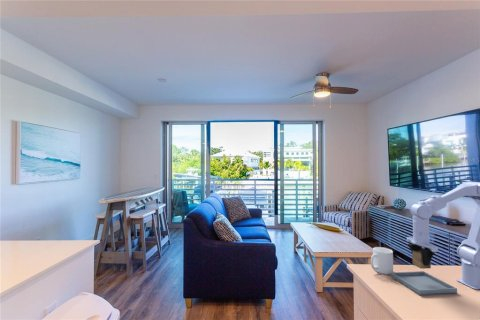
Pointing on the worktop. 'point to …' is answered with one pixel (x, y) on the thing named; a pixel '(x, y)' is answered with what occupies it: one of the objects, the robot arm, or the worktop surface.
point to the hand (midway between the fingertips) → (421, 262)
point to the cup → (382, 260)
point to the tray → (423, 283)
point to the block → (419, 260)
